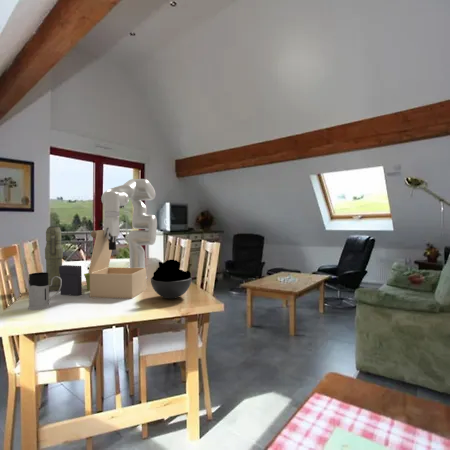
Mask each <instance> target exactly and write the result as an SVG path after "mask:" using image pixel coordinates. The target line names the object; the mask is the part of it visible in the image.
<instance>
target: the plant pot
mask: <svg viewBox="0 0 450 450" xmlns="http://www.w3.org/2000/svg"><path fill="white" fill-rule="evenodd" d="M83 277H84V278H85V282H86V289H87V291H90V274H89V273H88V272H87V273H84V274H83Z"/></svg>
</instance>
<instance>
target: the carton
mask: <svg viewBox="0 0 450 450" xmlns="http://www.w3.org/2000/svg"><path fill="white" fill-rule="evenodd" d="M146 276H147V267H145V268H130V267H113V266H112V267H110V266H109V267H107V268H104V269H101V270H98V271H95V272H92V273H90V290H89V298H92V299H95V298H96V299H97V298H99V299H134V298H135V297H137V296H138V295H141V294H142V293H143V292H145V291H146V290H147V279H146Z"/></svg>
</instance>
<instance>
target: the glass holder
mask: <svg viewBox="0 0 450 450" xmlns="http://www.w3.org/2000/svg"><path fill="white" fill-rule="evenodd" d="M55 277H58V276H55ZM55 277H53V278H52V280H51V285H52V281H53V279H54V278H55ZM58 278H59V279H60V281H61V284H60V288H59V290H58V291H56V293H55V294H54V295H53V296H52V297H50V291H49V286H51V285H49V284H48V273H46V271H43V272H40V271H39V272H33V273H29V274H28V307H27V309H28V310H29V311H38V310H44V309H48V308H50V307H51V303H50V301H51V300H52V299H53V298H54V297H56V296H57V295H58V293H59V292H60V289H61V285H62V280H61V278H60V277H58Z"/></svg>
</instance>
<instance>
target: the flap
mask: <svg viewBox="0 0 450 450" xmlns="http://www.w3.org/2000/svg"><path fill="white" fill-rule="evenodd" d="M103 231H104V230H103V229H100V230H99V229H98V230H92V231H91V232H90V236H91V238H92V239H95V240H94V246H93V250H92V254H91V259H90V264H89V269H88V272H87V273H89V274H90V273H93V272H96V271H99V270H102V269H105V268H108V267H110V261H111V257H112V252H113V250H109V242H108V239H107V236H106V237H105V236H104V235H103Z"/></svg>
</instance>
